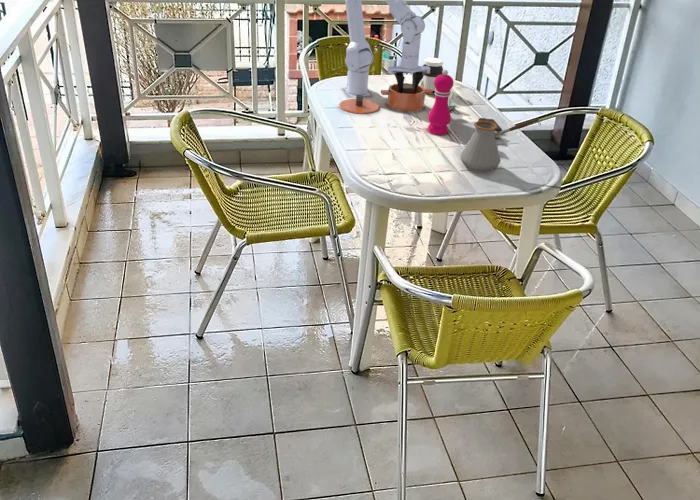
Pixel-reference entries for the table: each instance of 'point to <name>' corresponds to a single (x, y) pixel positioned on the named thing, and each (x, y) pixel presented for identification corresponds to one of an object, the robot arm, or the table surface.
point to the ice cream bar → (494, 123)
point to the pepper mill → (441, 105)
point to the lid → (359, 105)
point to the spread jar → (431, 73)
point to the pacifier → (451, 101)
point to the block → (408, 89)
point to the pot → (406, 98)
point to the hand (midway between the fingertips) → (406, 93)
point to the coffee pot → (485, 146)
